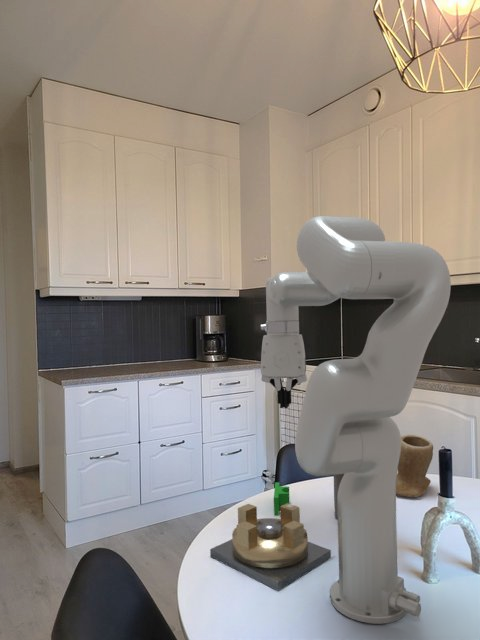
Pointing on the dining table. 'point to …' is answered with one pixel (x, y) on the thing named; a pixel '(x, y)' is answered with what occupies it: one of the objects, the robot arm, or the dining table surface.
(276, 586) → the mounting plate
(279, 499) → the pipe clamp
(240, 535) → the ring nut
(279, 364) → the robot arm
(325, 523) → the dining table surface
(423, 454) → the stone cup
